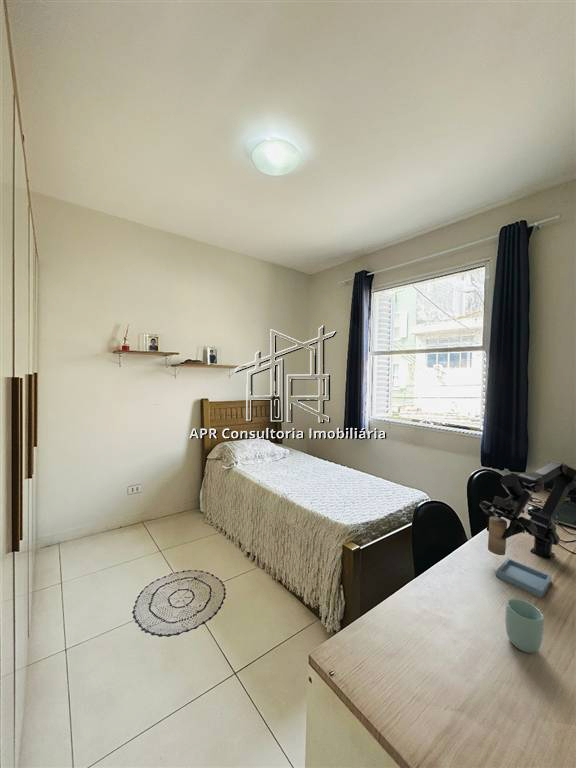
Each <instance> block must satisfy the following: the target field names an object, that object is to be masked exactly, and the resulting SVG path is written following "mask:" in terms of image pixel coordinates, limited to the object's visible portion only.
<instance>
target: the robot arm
mask: <svg viewBox="0 0 576 768" xmlns="http://www.w3.org/2000/svg"><path fill="white" fill-rule="evenodd" d="M551 480H554V485H553V487H552V489H551V490H550V493H549V495H548V496H547V499H546V500H545V502H544V505H543V506H542V507H541V510H540V512H538V513H535V512H533V513H532V514H531V516H530V518H529V519H528V518H526V517H523V516H520V515H521V514H524V513H525V507H526V506H527V504H528V503H529V502H531V503H532V502H533V500H534V499H533V497H532V496H533V495H532V493H534V494H539V492H541V491H542V490H543V489H544V487H545V486H544V485H545V484H546V483H547V482H548V481H551ZM499 481H500V484H501V485H502V487H503V488H504V489H505V491H506V492H507V493H508V494H509V496H508V497H504V498H502V497H500V496H497V495H495V496H494V499H493V502H492V503H491V502H489V501H487V500H482V501H481V502H480V503H479V507H480V508H481V509H482V510H483V512H484V513H485V514H486V515H488V516H487V525H486V531H487V532H489V519H490V517H500V518H502V519H504V520H508V521H509V525H508V526H507V530H506V531H505V532H504V534H503V536H502V539H506V540H507V539H508V538H511V537H513V536H516V535H518V534H521V533H522V534H525V533H526V534H528V535H529V536H533V541H534V542H533V547H532V548H531V549H530V550H529V551H530V552H531V553H533V554H535V555H538V556H540V557H543V558H544V559H545V558H546V559H548V560H551V559H552V558H553V557H554V556H555V554H556V553H554V552H552V551H553V545H555V546H557V545H558V544H559V543H560V539H561V538H560V536H559V534H558V533H557V525H556V522H555V520H556V517H557V516H558V514H559V512H560V510H561V508H562V506H563V505H564V502H565V500H566V498H567V496H568V494H569V492H570V491H572V490H574V489H576V469H574V468H573V467H571V466H569V465H567V464H566V463H564V462H559V461H557V460H556V461H555V460H551V461H549V463H547V464H546V465H544V466H542V467H540V468H539V469H537V470H535V471H533V472H523V473H521V474H519V475H518V474H517V473H515V472H511V473H510V474H505V475H503V476H501V477H500V480H499ZM530 492H531V493H530ZM494 505H497V506H496V507H497V508H498V509H497V508H496V507H495V506H494Z"/></svg>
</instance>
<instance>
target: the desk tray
mask: <svg viewBox="0 0 576 768" xmlns="http://www.w3.org/2000/svg"><path fill="white" fill-rule="evenodd" d="M495 577H496V578H498V579H500V580H501V581H504V582H507V583H509V584H511V585H513V586H515V587H517V588H520V589H522V590H524V591H525V592H528V593H530V594H532V595H534V596H536V597H538V598H541V599H543V597H544V596H545V593H546V592H547V590H548V589H549V587H550V586H551V583H552V579H553V578H552V577H553V576H552V575H550V574H547V573H546V572H543V571H541V570H539V569H535V568H533V567H531V566H528V565H526V564H523V563H522V562H519V561H516V560H514V559H512V558H510V557H507V558H506V559H505V561H504V562H503V563H502V564H501V565H500V566H499V567H498V568H497V569H496V571H495Z"/></svg>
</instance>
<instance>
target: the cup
mask: <svg viewBox="0 0 576 768" xmlns="http://www.w3.org/2000/svg"><path fill="white" fill-rule="evenodd" d="M544 624H545V617H544V615H543V613H542V612H541V610H540V609H539V608H537V607H536V606H535V605H533V604H532V603H530V602H529V601H525V600H522V599H519V598H509V599H507V601H506V604H505V631H506V635H507V637H508V640H509V641H510V643H512V645H513V646H514V647H516V648H517V649H518V650H520V651H522V652H523V653H527V654H534V653H537V652H538V651H539V650H540V649H541V646H542V642H543V635H544V628H545V627H544Z"/></svg>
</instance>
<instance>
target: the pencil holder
mask: <svg viewBox="0 0 576 768" xmlns="http://www.w3.org/2000/svg"><path fill="white" fill-rule="evenodd" d="M507 528H508V521H507V519H505V518H503V517H500V516H497V517H490V519H489V531H488V539H487V541H488V542H487V550H488V551H489V552H490V553H492V554H494V555H496V556H497V555H498V556H505V555H506V548H507V538H506V539H502V536H503V534H504V532H505V531H506V530H507Z"/></svg>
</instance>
